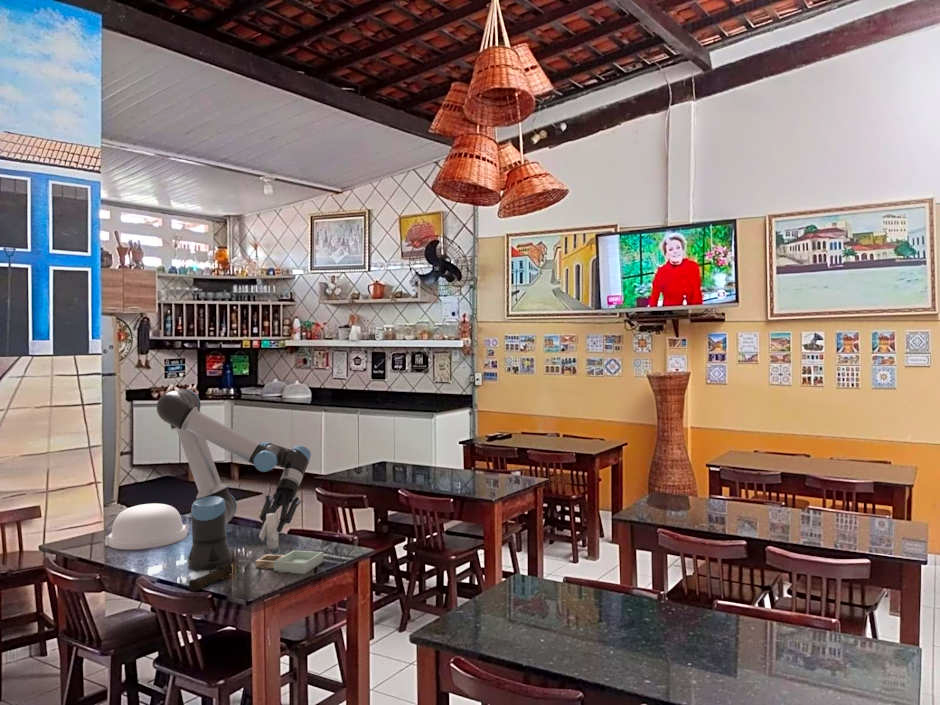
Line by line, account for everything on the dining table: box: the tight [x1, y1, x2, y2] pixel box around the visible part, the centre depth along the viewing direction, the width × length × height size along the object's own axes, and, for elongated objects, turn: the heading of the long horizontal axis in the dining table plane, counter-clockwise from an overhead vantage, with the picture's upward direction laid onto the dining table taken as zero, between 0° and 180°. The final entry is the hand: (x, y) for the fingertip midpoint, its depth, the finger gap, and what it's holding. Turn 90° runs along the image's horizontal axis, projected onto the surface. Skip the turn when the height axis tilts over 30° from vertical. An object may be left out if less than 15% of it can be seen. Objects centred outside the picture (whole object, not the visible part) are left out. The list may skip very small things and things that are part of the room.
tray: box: [273, 550, 324, 575], centre depth 265 cm, size 12×14×4 cm
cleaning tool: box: [266, 512, 280, 550], centre depth 267 cm, size 4×4×12 cm
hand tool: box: [188, 563, 234, 592], centre depth 250 cm, size 19×4×5 cm, turn 156°
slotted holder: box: [254, 553, 286, 569], centre depth 268 cm, size 8×8×2 cm
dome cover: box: [104, 502, 190, 550], centre depth 307 cm, size 32×30×14 cm
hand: (267, 538), depth 264 cm, fingers closed on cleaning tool, 4 cm apart
